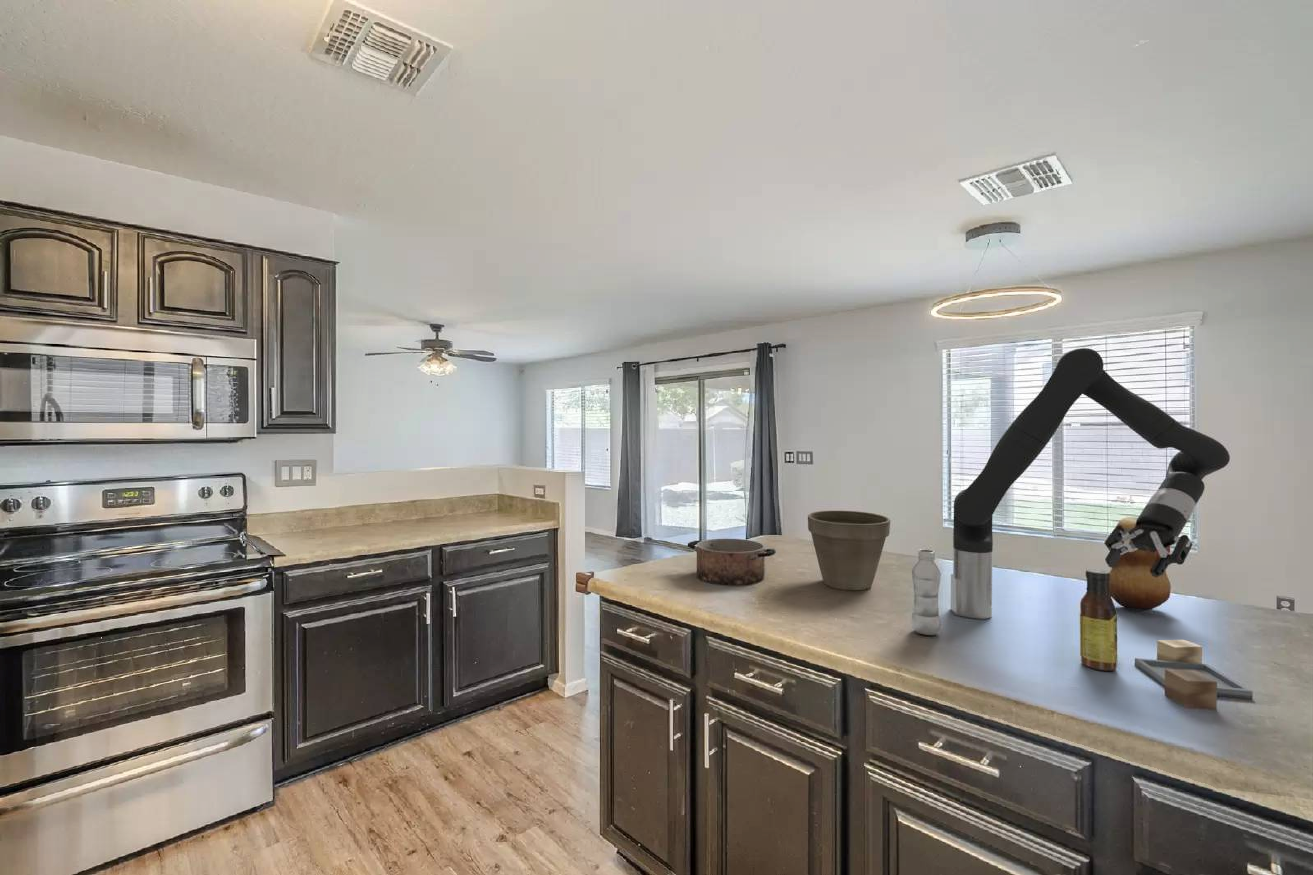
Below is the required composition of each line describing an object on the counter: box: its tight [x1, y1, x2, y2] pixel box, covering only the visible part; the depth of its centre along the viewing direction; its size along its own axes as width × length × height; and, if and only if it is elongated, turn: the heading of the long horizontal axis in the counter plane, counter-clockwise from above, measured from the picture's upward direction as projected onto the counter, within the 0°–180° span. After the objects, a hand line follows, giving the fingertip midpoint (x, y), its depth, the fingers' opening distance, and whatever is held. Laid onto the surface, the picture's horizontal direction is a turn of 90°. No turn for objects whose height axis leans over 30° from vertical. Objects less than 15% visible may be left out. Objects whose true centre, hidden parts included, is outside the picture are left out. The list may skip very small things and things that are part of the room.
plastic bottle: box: [910, 549, 942, 636], centre depth 142 cm, size 6×7×20 cm
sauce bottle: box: [1079, 568, 1118, 672], centre depth 122 cm, size 6×6×20 cm
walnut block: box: [1164, 669, 1218, 710], centre depth 107 cm, size 5×5×5 cm
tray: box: [1134, 657, 1254, 700], centre depth 115 cm, size 13×13×2 cm
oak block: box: [1156, 639, 1203, 664], centre depth 124 cm, size 6×4×4 cm, turn 94°
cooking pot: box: [687, 538, 776, 587], centre depth 195 cm, size 30×22×11 cm
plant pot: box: [807, 510, 891, 591], centre depth 185 cm, size 25×25×22 cm
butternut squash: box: [1109, 516, 1172, 612], centre depth 160 cm, size 14×13×25 cm
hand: (1130, 569), depth 126 cm, fingers open, 8 cm apart
